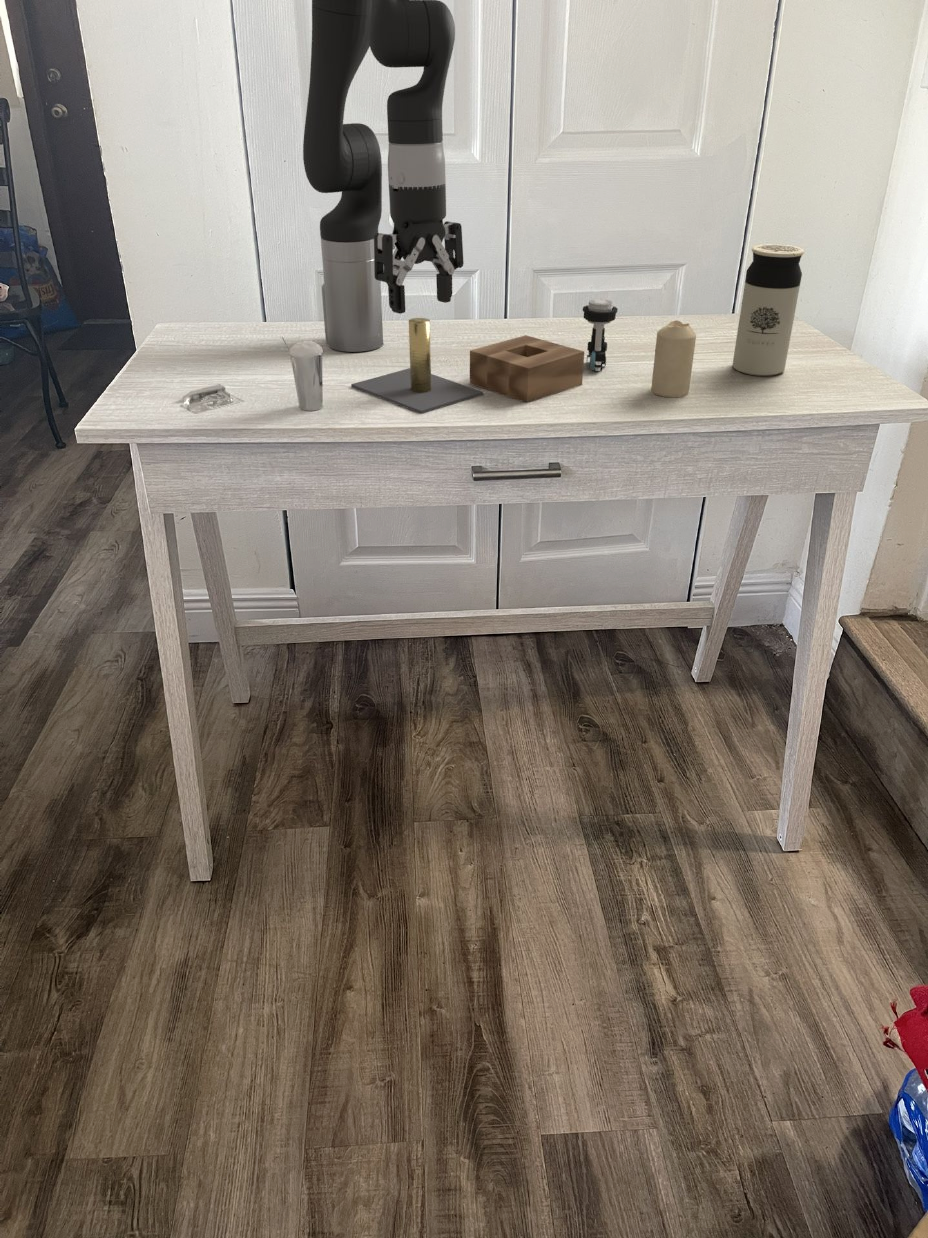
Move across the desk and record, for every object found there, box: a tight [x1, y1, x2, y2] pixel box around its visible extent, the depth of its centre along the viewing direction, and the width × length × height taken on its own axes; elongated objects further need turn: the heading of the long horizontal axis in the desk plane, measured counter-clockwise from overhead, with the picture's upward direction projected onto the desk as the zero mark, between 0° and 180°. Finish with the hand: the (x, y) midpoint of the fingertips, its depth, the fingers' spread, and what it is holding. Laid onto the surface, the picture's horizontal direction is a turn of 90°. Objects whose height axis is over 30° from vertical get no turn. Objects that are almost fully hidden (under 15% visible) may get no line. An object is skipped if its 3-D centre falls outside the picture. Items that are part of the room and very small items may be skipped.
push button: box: [582, 298, 619, 372], centre depth 147 cm, size 7×5×10 cm
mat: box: [351, 367, 484, 415], centre depth 140 cm, size 16×12×1 cm
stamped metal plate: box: [179, 384, 245, 415], centre depth 136 cm, size 8×7×2 cm
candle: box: [650, 319, 697, 398], centre depth 137 cm, size 6×6×10 cm
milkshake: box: [281, 336, 324, 412], centre depth 131 cm, size 4×5×10 cm
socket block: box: [469, 335, 585, 404], centre depth 141 cm, size 12×12×5 cm
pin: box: [408, 317, 432, 393], centre depth 136 cm, size 3×3×10 cm
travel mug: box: [732, 243, 805, 377], centre depth 144 cm, size 8×8×18 cm
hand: (421, 306), depth 133 cm, fingers open, 8 cm apart
